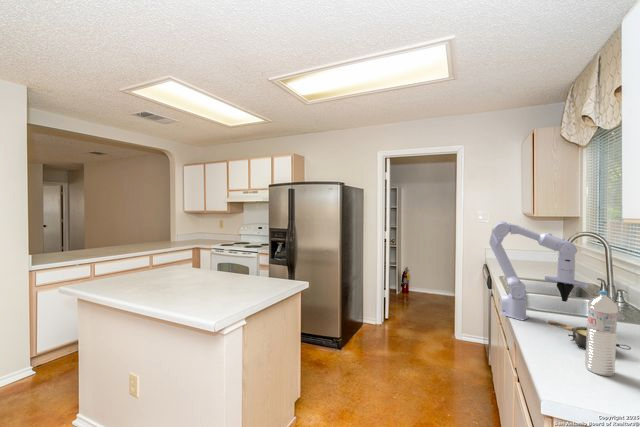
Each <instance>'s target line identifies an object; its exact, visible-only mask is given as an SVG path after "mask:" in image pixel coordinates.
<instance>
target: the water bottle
mask: <svg viewBox="0 0 640 427" xmlns="http://www.w3.org/2000/svg"><path fill="white" fill-rule="evenodd" d="M598 293H599V295H596V296H594V297H593V298H591V299H590V300H589V301H588V303H587V326H586V328H587V336H586V350H585V358H584V359H585V360H584V362H585V363H584V365H585V368H586V369H587V370H588V371H590V372H591V373H593V374H596V375H598V376H599V375H600V376H604V377H613V376H614V375H615V370H616V355H617V354H616V353H617V352H616V351H617V346H616V344H617V338H618V336H617V334H618V333H617V329H618V328H617V324H618V323H617V321H618V312H619V306H618V305H617V304H616V302H614V301H613V299H611V298H609V297H608V291H606V290H599V292H598Z"/></svg>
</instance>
